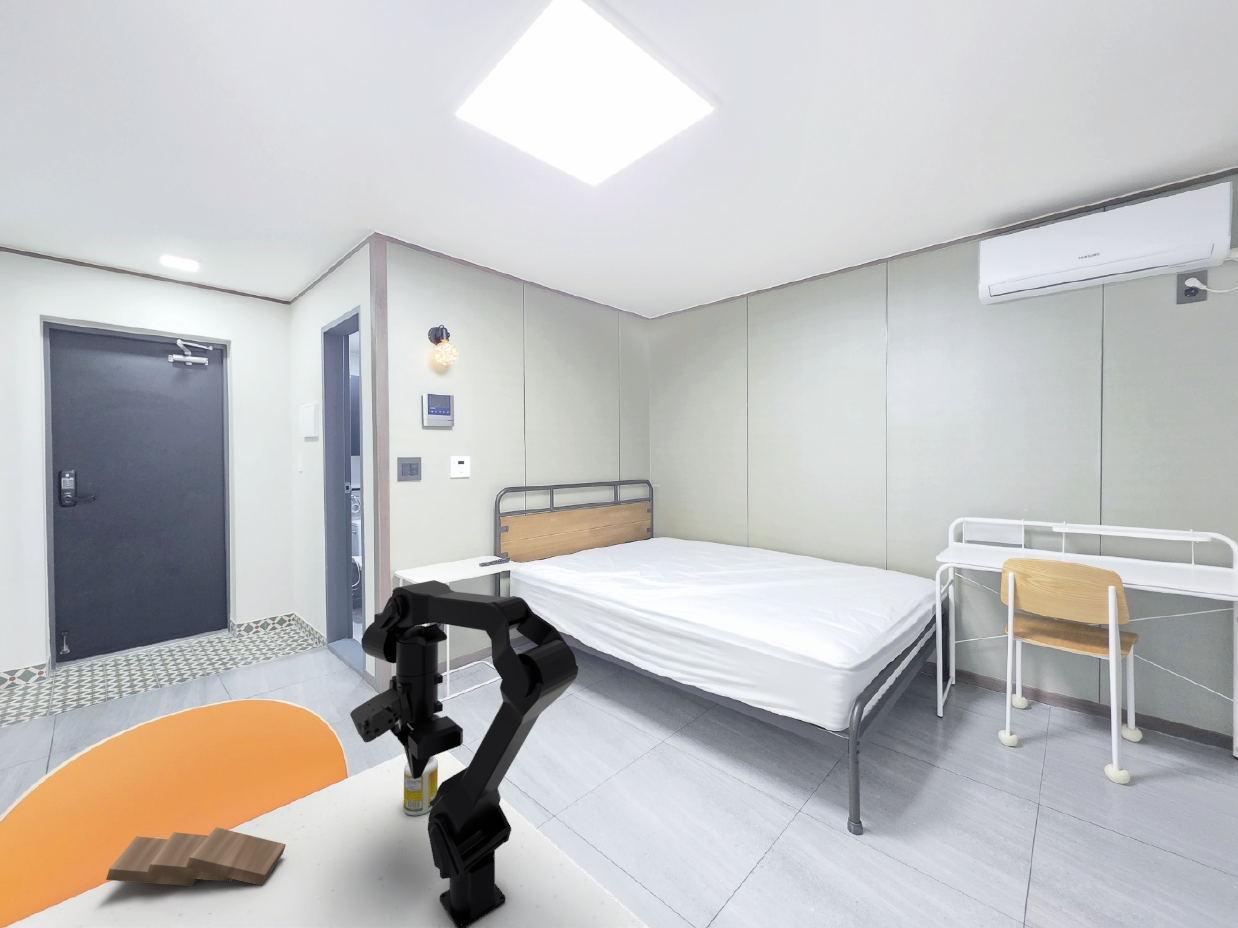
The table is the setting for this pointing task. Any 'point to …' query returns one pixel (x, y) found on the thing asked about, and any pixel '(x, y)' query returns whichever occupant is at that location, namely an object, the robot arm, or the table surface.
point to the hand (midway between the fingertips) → (416, 776)
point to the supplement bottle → (420, 788)
